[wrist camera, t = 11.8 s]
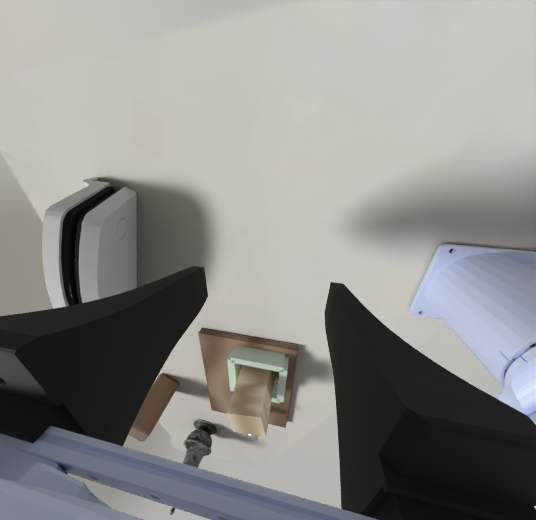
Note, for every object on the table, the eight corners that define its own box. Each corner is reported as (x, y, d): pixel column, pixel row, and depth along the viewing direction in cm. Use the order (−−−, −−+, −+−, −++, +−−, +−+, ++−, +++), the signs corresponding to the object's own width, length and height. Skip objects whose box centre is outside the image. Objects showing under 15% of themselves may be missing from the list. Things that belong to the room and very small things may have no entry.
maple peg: (271, 359, 27) (260, 417, 20) (274, 378, 28) (265, 437, 22) (244, 357, 28) (226, 412, 21) (249, 375, 29) (233, 431, 23)
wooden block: (173, 391, 37) (143, 443, 30) (155, 381, 37) (120, 431, 30) (180, 382, 36) (149, 436, 29) (161, 372, 35) (125, 423, 28)
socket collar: (289, 354, 26) (287, 368, 24) (284, 389, 29) (283, 404, 27) (232, 344, 27) (227, 356, 25) (234, 379, 30) (230, 392, 28)
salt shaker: (217, 436, 43) (188, 525, 32) (193, 428, 43) (156, 513, 33) (218, 424, 40) (186, 516, 29) (192, 415, 41) (152, 504, 30)
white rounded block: (93, 173, 20) (-6, 196, 12) (142, 187, 22) (85, 216, 13) (105, 290, 28) (51, 353, 20) (141, 294, 30) (104, 356, 21)
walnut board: (297, 344, 26) (297, 350, 25) (286, 421, 35) (285, 427, 34) (201, 327, 28) (198, 333, 27) (214, 404, 37) (211, 410, 36)
